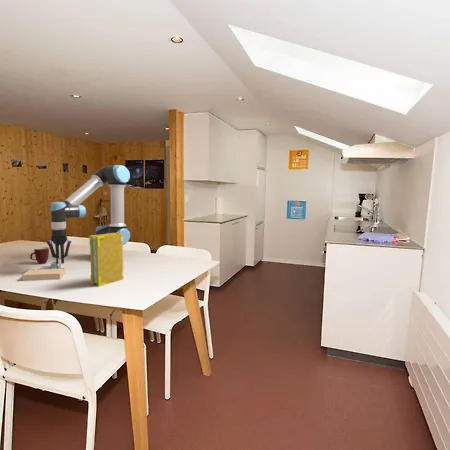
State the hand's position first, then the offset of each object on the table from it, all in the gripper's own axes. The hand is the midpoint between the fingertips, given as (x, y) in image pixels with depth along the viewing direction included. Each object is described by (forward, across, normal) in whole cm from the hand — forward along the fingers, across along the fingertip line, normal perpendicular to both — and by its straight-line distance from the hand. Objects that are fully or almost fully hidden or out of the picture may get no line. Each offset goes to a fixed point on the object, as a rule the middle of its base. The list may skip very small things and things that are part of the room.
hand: (60, 269), depth 179 cm
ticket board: (+2, +6, +9) cm, 11 cm away
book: (+2, -29, +25) cm, 38 cm away
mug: (+2, +18, -25) cm, 31 cm away
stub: (+2, +6, 0) cm, 6 cm away
